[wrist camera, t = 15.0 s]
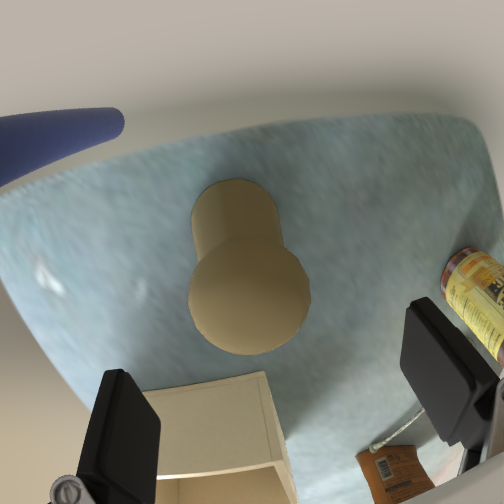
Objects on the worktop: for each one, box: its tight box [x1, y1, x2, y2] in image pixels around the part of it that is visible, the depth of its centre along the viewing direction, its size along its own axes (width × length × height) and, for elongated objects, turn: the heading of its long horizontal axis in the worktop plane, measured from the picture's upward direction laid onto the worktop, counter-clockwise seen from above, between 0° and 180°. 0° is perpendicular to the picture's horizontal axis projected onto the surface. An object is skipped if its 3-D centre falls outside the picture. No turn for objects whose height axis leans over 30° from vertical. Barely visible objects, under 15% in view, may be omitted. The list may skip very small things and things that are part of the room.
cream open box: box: [142, 371, 299, 504], centre depth 27 cm, size 15×15×10 cm
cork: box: [188, 179, 311, 355], centre depth 17 cm, size 6×6×11 cm
